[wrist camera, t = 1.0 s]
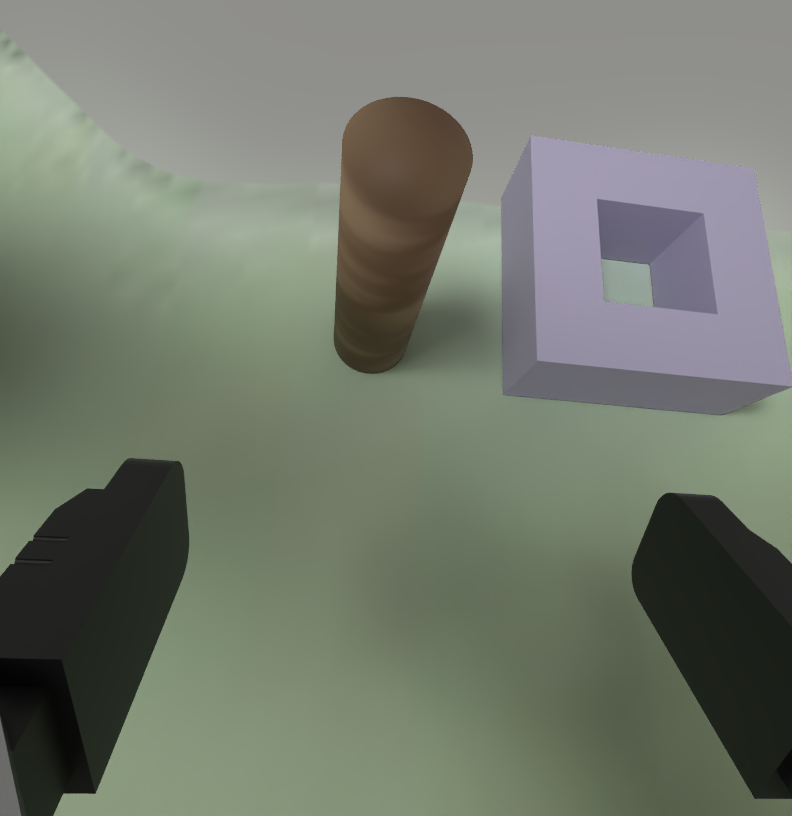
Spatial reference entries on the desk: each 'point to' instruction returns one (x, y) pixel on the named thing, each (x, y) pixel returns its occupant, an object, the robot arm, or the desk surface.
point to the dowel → (393, 223)
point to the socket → (670, 274)
